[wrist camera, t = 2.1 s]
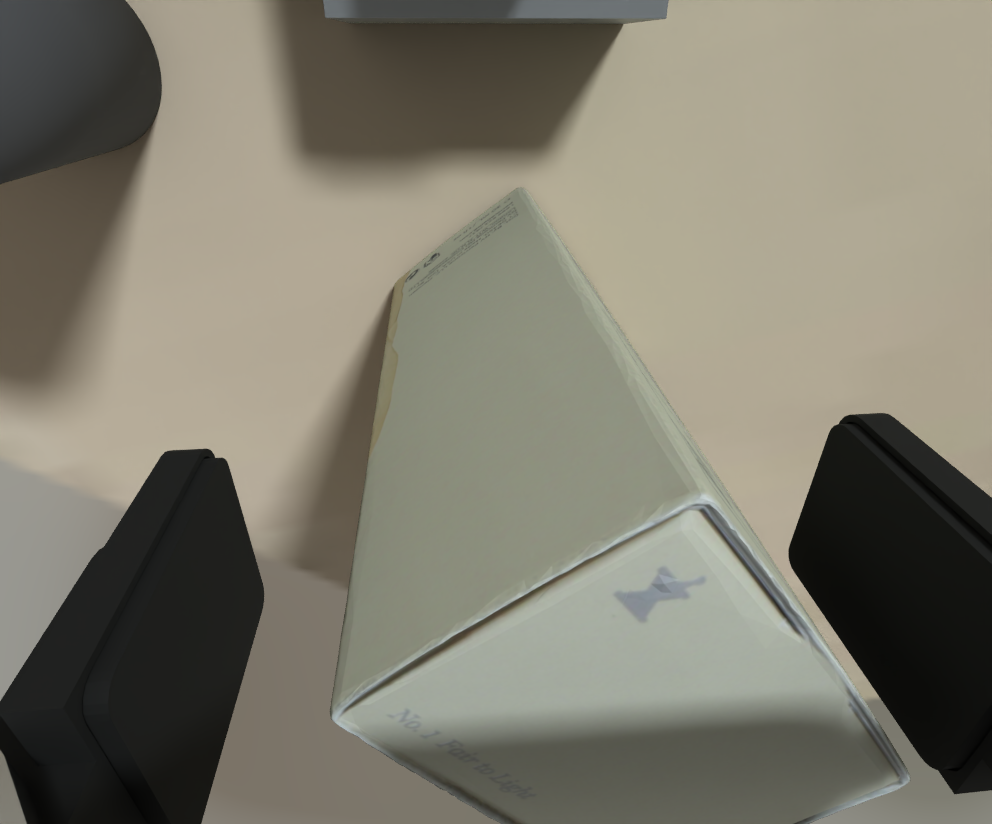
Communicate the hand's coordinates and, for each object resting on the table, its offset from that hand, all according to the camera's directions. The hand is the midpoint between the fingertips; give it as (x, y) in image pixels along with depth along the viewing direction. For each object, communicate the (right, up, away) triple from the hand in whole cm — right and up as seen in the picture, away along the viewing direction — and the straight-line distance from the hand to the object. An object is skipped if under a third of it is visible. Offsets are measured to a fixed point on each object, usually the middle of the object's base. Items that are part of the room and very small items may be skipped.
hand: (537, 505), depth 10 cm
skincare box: (0, +4, +7) cm, 9 cm away
